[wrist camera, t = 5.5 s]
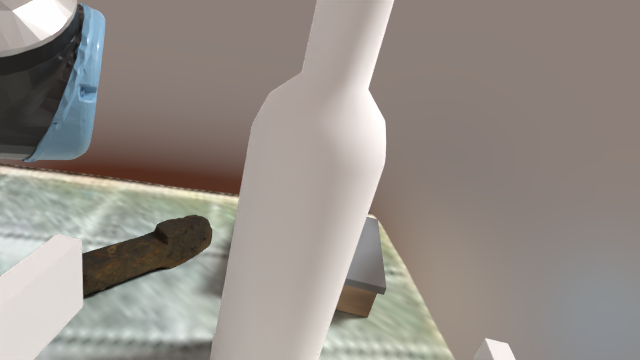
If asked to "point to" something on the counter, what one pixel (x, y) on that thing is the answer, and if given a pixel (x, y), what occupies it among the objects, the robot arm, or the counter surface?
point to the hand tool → (146, 252)
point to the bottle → (305, 192)
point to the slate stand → (364, 273)
